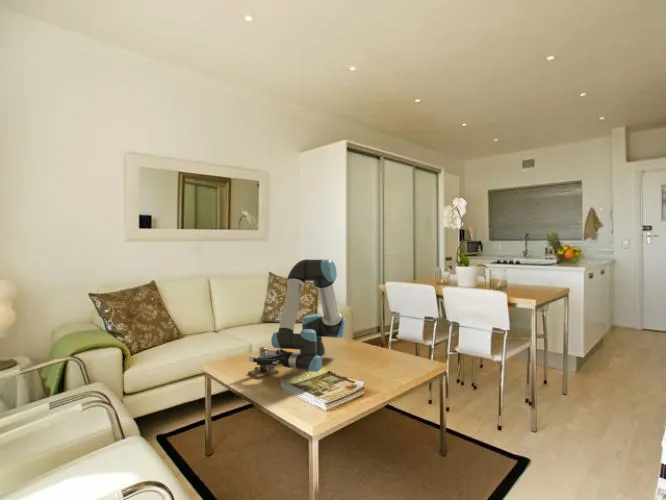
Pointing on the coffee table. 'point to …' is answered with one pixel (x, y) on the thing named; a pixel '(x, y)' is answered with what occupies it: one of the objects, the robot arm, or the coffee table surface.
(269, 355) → the mineral specimen
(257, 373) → the peg rack
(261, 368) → the pin
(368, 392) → the coffee table surface
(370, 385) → the coffee table surface
